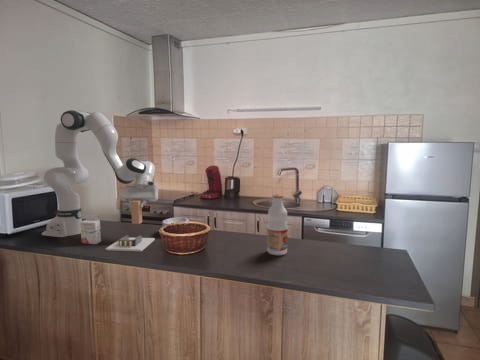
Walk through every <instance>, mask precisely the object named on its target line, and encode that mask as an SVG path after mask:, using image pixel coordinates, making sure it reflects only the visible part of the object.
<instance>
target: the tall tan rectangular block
mask: <svg viewBox="0 0 480 360" xmlns="http://www.w3.org/2000/svg"><path fill="white" fill-rule="evenodd" d="M140 203H142V201H141V200H134V201H131V208H130V211H131V212H130V213H131V215H130V216H131V224H132V225H139V224H142V223H143V210H142V209H143V208H140V207H139V205H140Z"/></svg>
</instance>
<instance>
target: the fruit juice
mask: <svg viewBox="0 0 480 360" xmlns="http://www.w3.org/2000/svg"><path fill="white" fill-rule="evenodd" d="M283 199H284V195H283V194H277V193H276V194H275V193H274V194H273V195H272V201H273V202H272V205H271V206H270V208H269V209H268V211H267V217H268V221H267V244H266V247H267V250H266V251H267V253H268V254H269V255H272V256H283V255H286V254H287V252H288V221H287V217H288V210H287V209H286V208H285V206H284V202H283Z"/></svg>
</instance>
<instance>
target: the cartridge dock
mask: <svg viewBox="0 0 480 360" xmlns="http://www.w3.org/2000/svg"><path fill="white" fill-rule="evenodd" d="M154 241H156V240H155V238H154V237H143V236H142V235H138V236H136V237H130V235H129V234H127V235H124V236H123V237H121V238H119V239H118V240H116V241H115V242H113V243H112V244H110V245H109V246H107V247H106V248H105V251H114V252H115V251H116V252H143V250H144V249H146V248H147V247H148V246H149V245H151V244H152V243H153V242H154Z"/></svg>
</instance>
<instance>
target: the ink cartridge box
mask: <svg viewBox="0 0 480 360" xmlns="http://www.w3.org/2000/svg"><path fill="white" fill-rule="evenodd" d="M84 216H85V217H84V218H85V219H84V220H82V222H80V223H81V233H80V236H81V237H80V238H81V244H88V245H97V244H99V243H101V241H102V234H101V230H102V229H101V219H100V215H99V214H84Z"/></svg>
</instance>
